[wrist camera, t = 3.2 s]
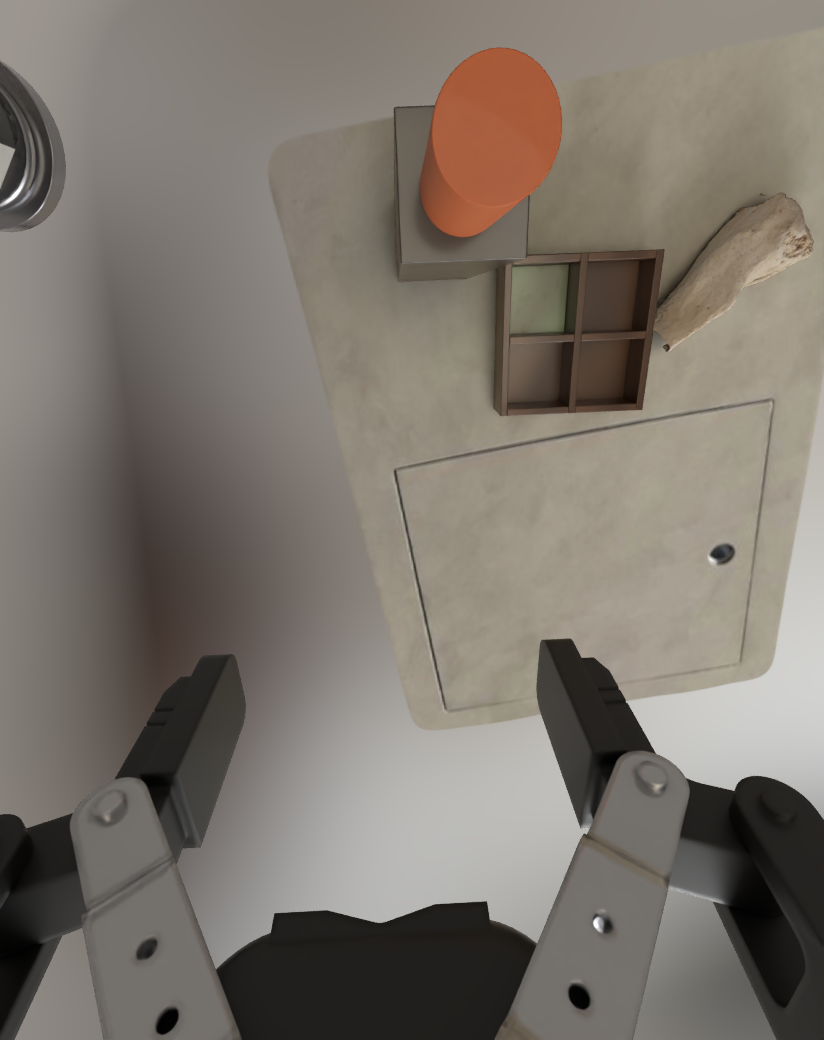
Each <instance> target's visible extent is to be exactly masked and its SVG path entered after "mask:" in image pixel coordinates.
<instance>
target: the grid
mask: <svg viewBox="0 0 824 1040" xmlns="http://www.w3.org/2000/svg"><path fill="white" fill-rule="evenodd" d="M663 256H664V249H661V250H638V251H614V252H590V253H567V254H543V255H527V258H526V259H523V260H520V261H517V262H514V263H511V264H508V265H506V266H503V267H500V268H497V283H496V326H495V368H494V410H496V412H497V413H498V414H499V415H500V416H518V415H539V414H561V413H583V412H605V411H627V410H642V408H643V400H644V393H645V386H646V379H647V372H648V364H649V357H650V350H651V343H652V336H653V328H654V321H655V314H656V307H657V300H658V292H659V285H660V278H661V271H662V264H663Z"/></svg>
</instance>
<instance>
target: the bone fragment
mask: <svg viewBox="0 0 824 1040" xmlns="http://www.w3.org/2000/svg"><path fill="white" fill-rule="evenodd" d="M761 194H762V193H761ZM761 194H760V196H762V195H763V194H762V195H761ZM813 243H814V241H813V239H812V237H811V234H810V231H809V229H808V227H807V226H806V224H805V220H804V216H803V212H802V209H801V207H800V205H799V204H798V203H797V202H796V201H795V200H793V199H792V198H787V197H786V194H784V193H783V192H782V193H779V194H777V195H775V196H773V197H772V198H770V199H768V200H767V201H766V202H765V203H762V204H760V205H756V206H753V207H748V208H740V210H739V211H738V212H737V213H736V214H735V216H734V217H733V218H732V219H731V220H730V221H729V222H727V224H726V225H725V226H724V227H723V228H722V229H721V230H720V231H719V232H718V234H717V235H716V236H715V237H714V238H713V239H712V240H711V241H710V242H709V244H708V246H707V247H706V248H705V250H704V251H703V252H702V253H701V254H700V255H699V256H698V258H697V259H696V261H695V262H694V264H693V266H692V267H691V269H690V271H689V272H688V273H687V275H686V276H685V277H684V279H683V280H682V281H681V282H680V283H679V285H678V286H677V287H676V289H674V290H673V292H672V293H671V294H670V295H669V296H668V297H667V299H666V300H665V301H664V302H663V304H662V305H661V306H660V307H659V308H658V309H657V310H656V314H655V321H654V328H653V330H654V331H655V332H657V333H658V334H659V335H660V336H661V337H662V338H663V339H664V340H665V341H666V342H667V344H666V345H664V346H663V348H664V349H665V351H666V352H668V351H670V350H672V349H673V347H675V346H676V345H677V344H679V343H680V342H681V341H683V340H684V339H686V338H687V337H688V336H690V335H692V334H693V333H694V332H696V331H698V330H700V329H702V328H703V327H704V326H705V325H706V324H707V323H708V322H710V321H711V320H713V319H715V318H717V317H719V316H721V315H722V314H724V313H725V312H726V311H728V310H729V309H730V308H731V307H732V305H733V303H734V302H735V301H736V299H737V297H738V295H739V293H740V291H741V290H742V288H743V287H746V286H750V285H753V284H756V283H758V282H761V281H763V280H765V279H767V278H769V277H770V276H773V275H775V274H776V273H777V272H780V271H782V270H784V269H786V268H787V267H788V266H789V265H791V264H794V263H796V262H798V261H800V260H802V259H805V258H807V257H809V256H810V254H811V253H812V250H813V248H812V246H813Z"/></svg>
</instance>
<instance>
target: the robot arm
mask: <svg viewBox="0 0 824 1040" xmlns="http://www.w3.org/2000/svg"><path fill="white" fill-rule="evenodd" d="M35 166H36V156H35V147H34V142H33V138H32V134H31V131H30V128H29V126H28V123H27V121H26V119H25V117H24V115H23V113H22V112H21V110H20V108H19V107H18V105H17V104H16V102H15V101H14V99H13V98H12V97H11V96H10V94H9V93H8V92H7V91H6V90H5V89H4V88H3V87H2V86H1V85H0V210H4V209H6V208H9V207H11V206H13V205H15V204H16V203H18V202H19V201H20V200H21V199H22V198H23V197H24V196H25V194H26V193H27V191H28V190H29V188H30V186H31V184H32V181H33V178H34V173H35ZM537 700H538V705H539V709H540V712H541V715H542V718H543V721H544V724H545V726H546V729H547V732H548V735H549V738H550V741H551V744H552V747H553V750H554V753H555V756H556V758H557V761H558V764H559V767H560V770H561V773H562V776H563V779H564V781H565V785H566V788H567V790H568V793H569V796H570V799H571V802H572V805H573V808H574V811H575V814H576V817H577V819H578V822H579V825H580V828H590V829H589V832H588V833H587V835H586V834H583V836H582V838H581V839H580V842H579V844H578V846H577V848H576V851H575V853H574V856H573V858H572V861H571V863H570V865H569V868H568V870H567V873H566V875H565V878H564V880H563V882H562V885H561V887H560V890H559V892H558V895H557V897H556V899H555V902H554V904H553V907H552V909H551V912H550V914H549V916H548V919H547V922H546V924H545V926H544V929H543V931H542V934H541V936H540V939H539V941H538V943H536V942H534V941H533V940H531V939H530V938H529V937H527V936H526V935H524V934H523V933H521V932H519V931H517V930H516V929H514V928H512V927H509V926H507V925H505V924H502V923H500V922H496V921H492V920H490V919H489V912H488V905H487V902H470V903H469V902H468V903H452V904H435V905H432V906H429V907H426V908H423V909H421V910H418V911H415V912H413V913H410V914H407V915H404V916H401V917H398V918H396V919H393V920H390V921H387V922H384V923H375V922H371V921H367V920H363V919H359V918H355V917H351V916H347V915H343V914H339V913H335V912H331V911H327V910H326V911H308V912H291V913H275V914H274V919H273V924H272V930H271V933H270V934H267V935H265V936H262V937H260V938H258V939H256V940H254V941H252V942H250V943H249V944H247V945H246V946H244V947H243V948H241V949H240V950H238V951H237V952H236V953H234V954H233V955H232V956H231V957H229V958H228V959H227V960H226V961H224V962H223V963H222V964H221V965H220V966H219V967H218V968H217V969H215V966H214V964H213V961H212V958H211V956H210V953H209V950H208V948H207V945H206V943H205V940H204V937H203V934H202V932H201V929H200V927H199V924H198V921H197V918H196V916H195V913H194V911H193V908H192V905H191V902H190V900H189V897H188V895H187V892H186V889H185V886H184V884H183V881H182V879H181V876H180V873H179V871H178V868H177V865H176V864H177V862H178V859H179V856H180V854H181V851H182V848H199V847H201V845H202V842H203V839H204V836H205V833H206V830H207V827H208V825H209V822H210V819H211V816H212V813H213V810H214V807H215V804H216V801H217V799H218V796H219V793H220V790H221V787H222V784H223V781H224V779H225V775H226V773H227V770H228V767H229V764H230V761H231V758H232V755H233V752H234V750H235V747H236V744H237V741H238V738H239V735H240V732H241V730H242V727H243V723H244V718H245V710H246V703H245V696H244V692H243V688H242V683H241V679H240V674H239V670H238V665H237V661H236V658H235V656H234V655H232V654H228V655H208V656H203V657H201V659H200V660H199V662H198V664H197V666H196V668H195V670H194V672H193V674H192V676H191V677H180V678H179V679H178V680H177V681H176V682H175V683H174V684H173V685H172V686H171V687H169V688H168V689H167V690H166V691H165V692H164V694H163V695H162V697H161V699H160V701H159V702H158V704H157V706H156V708H155V712H153V713H152V715H151V716H150V718H149V720H148V722H147V726H146V727H144V729H143V731H142V732H141V734H140V736H139V738H138V739H137V741H136V743H135V745H134V746H133V748H132V750H131V752H130V753H129V755H128V757H127V759H126V760H125V762H124V764H123V766H122V767H121V769H120V771H119V773H118V774H117V776H116V778H115V779H114V780H112V781H110V782H107V783H105V784H103V785H101V786H100V787H98V788H96V789H95V790H94V791H92V792H91V793H90V794H88V795H87V796H86V797H85V798H84V799H83V800H82V801H81V802H80V804H79V805H78V806H77V808H76V809H75V811H74V813H72V814H69V815H66V816H63V817H60V818H57V819H55V820H51V821H48V822H45V823H42V824H39V825H36V826H33V827H30V828H26V827H25V826H24V824H23V822H22V820H21V819H20V818H19V817H17V816H15V815H11V814H3V815H0V1040H14V1039H15V1037H16V1035H17V1033H18V1031H19V1028H20V1026H21V1024H22V1022H23V1020H24V1018H25V1015H26V1013H27V1011H28V1009H29V1007H30V1005H31V1002H32V1000H33V998H34V996H35V994H36V992H37V990H38V987H39V985H40V983H41V981H42V979H43V977H44V974H45V972H46V970H47V968H48V966H49V964H50V961H51V959H52V957H53V954H54V953H55V951H56V948H57V946H58V944H59V942H60V940H61V937H62V935H65V934H67V933H70V932H73V931H75V930H78V929H80V928H83V933H84V938H85V943H86V949H87V954H88V959H89V965H90V970H91V975H92V980H93V986H94V991H95V997H96V1002H97V1007H98V1012H99V1018H100V1023H101V1029H102V1034H103V1039H104V1040H633V1037H634V1032H635V1029H636V1024H637V1020H638V1016H639V1012H640V1007H641V1003H642V999H643V994H644V990H645V986H646V981H647V977H648V973H649V969H650V965H651V960H652V956H653V952H654V948H655V943H656V939H657V935H658V930H659V926H660V922H661V918H662V914H663V909H664V905H665V901H666V897H667V892H668V889H672V890H675V891H679V892H682V893H685V894H689V895H692V896H696V897H700V898H703V899H706V900H710V901H713V903H714V905H715V907H716V910H717V912H718V914H719V916H720V918H721V920H722V922H723V925H724V927H725V929H726V931H727V933H728V936H729V938H730V940H731V942H732V944H733V946H734V948H735V951H736V953H737V955H738V957H739V959H740V961H741V964H742V966H743V968H744V970H745V972H746V974H747V977H748V979H749V981H750V983H751V985H752V987H753V990H754V991H755V994H756V996H757V998H758V1000H759V1002H760V1004H761V1007H762V1009H763V1011H764V1013H765V1015H766V1018H767V1020H768V1022H769V1024H770V1026H771V1028H772V1030H773V1033H774V1035H775V1037H776V1039H777V1040H824V820H823V818H822V817H821V815H820V814H819V813H818V811H817V810H816V809H815V808H814V806H813V805H812V804H811V803H810V802H809V801H808V800H807V799H806V798H805V797H804V796H803V795H802V794H800V793H799V792H798V791H796V790H795V789H793V788H791V787H790V786H788V785H786V784H784V783H782V782H780V781H777V780H775V779H771V778H768V777H762V776H751V777H747V778H744V779H742V780H741V781H740V782H739V783H738V784H737V786H736V788H735V791H732V790H727V789H723V788H718V787H714V786H710V785H705V784H701V783H698V782H694V781H691V780H689V779H687V778H685V776H684V775H683V773H682V772H681V771H680V770H679V769H678V768H677V767H676V766H675V765H674V764H673V763H672V762H670V761H669V760H667V759H665V758H664V757H662V756H660V755H657V754H656V753H655V751H654V749H653V748H652V746H651V744H650V742H649V741H648V739H647V737H646V735H645V733H644V732H643V730H642V728H641V726H640V725H639V723H638V721H637V719H636V717H635V716H634V714H633V712H632V710H631V709H630V707H629V705H628V703H626V700H625V698H624V696H623V694H622V692H621V691H620V690H619V689H618V685H617V684H616V682H615V680H614V678H613V676H612V675H611V673H610V671H609V670H608V669H607V668H605V667H604V666H603V665H602V664H601V663H599V662H598V661H597V660H596V659H595V658H581V656H580V654H579V652H578V650H577V648H576V646H575V644H574V642H573V641H572V640H571V639H551V640H542V641H541V643H540V650H539V662H538V674H537Z"/></svg>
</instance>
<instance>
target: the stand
mask: <svg viewBox="0 0 824 1040" xmlns="http://www.w3.org/2000/svg"><path fill="white" fill-rule="evenodd" d="M434 107H435V105H433V106H407V107H395V108H394V204H395V226H396V247H397V269H398V282H403V281H427V280H450V279H467V278H470V277H473V276H476V275H479V274H482V273H485V272H488V271H491V270H494V269H497V268H500V267H503V266H506V265H508V264H511V263H514V262H517V261H520V260H523V259H526V258H527V244H528V221H529V198H530V194H529V195H528V196H527V197H526V198H524V199H523V200H522V201H521V202H519V203H518V204H517V205H516V206H514V207H513V208H512V209H511V210H510V211H508V212H507V213H506V214H505V215H503V216H502V217H501V218H500V219H498V220H497V221H496V222H495V223H493V224H492V225H491V226H490V227H488V228H487V229H486V230H484V231H483V232H481V233H479V234H476V235H473V236H470V237H456V236H452V235H449V234H447V233H445V232H443V231H441V230H440V229H438V228H437V227H436V226H435V225H434V224H433V223H432V221H431V220H430V219H429V217H428V216H427V214H426V212H425V210H424V208H423V205H422V201H421V196H420V176H421V171H422V166H423V161H424V156H425V151H426V146H427V141H428V136H429V131H430V126H431V121H432V116H433V111H434Z"/></svg>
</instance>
